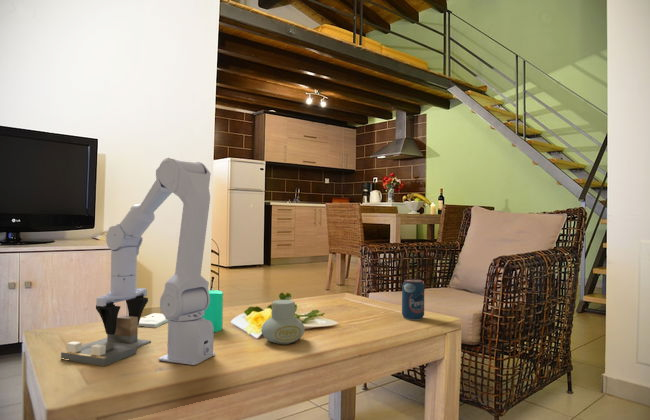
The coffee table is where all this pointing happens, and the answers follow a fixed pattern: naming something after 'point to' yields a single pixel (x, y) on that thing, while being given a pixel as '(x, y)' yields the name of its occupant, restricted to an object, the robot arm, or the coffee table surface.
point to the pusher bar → (125, 330)
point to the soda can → (413, 299)
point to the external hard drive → (152, 320)
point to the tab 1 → (74, 346)
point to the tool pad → (136, 344)
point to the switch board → (110, 356)
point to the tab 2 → (98, 349)
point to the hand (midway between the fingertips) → (122, 330)
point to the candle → (215, 309)
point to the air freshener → (283, 323)
